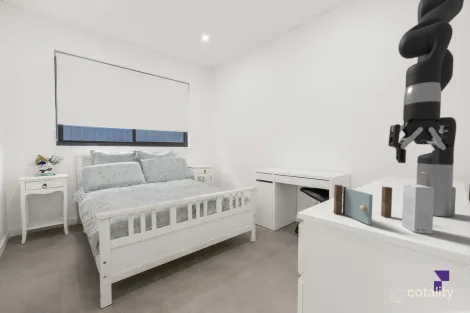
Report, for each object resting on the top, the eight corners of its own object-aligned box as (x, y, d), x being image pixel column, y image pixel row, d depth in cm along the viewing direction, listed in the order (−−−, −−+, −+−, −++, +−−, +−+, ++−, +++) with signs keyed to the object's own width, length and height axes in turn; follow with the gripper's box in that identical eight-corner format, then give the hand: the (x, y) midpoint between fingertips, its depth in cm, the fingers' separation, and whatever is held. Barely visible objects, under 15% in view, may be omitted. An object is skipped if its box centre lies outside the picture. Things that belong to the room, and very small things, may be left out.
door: (371, 224, 60) (372, 194, 60) (365, 224, 60) (366, 194, 60) (347, 213, 70) (348, 188, 70) (342, 214, 70) (343, 188, 70)
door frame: (387, 215, 70) (388, 186, 70) (391, 217, 68) (392, 187, 68) (333, 212, 73) (334, 184, 73) (335, 214, 71) (336, 185, 71)
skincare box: (433, 234, 55) (435, 187, 54) (414, 232, 55) (415, 187, 55) (418, 226, 60) (419, 184, 60) (400, 225, 61) (402, 183, 61)
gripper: (401, 100, 54) (398, 163, 55) (464, 99, 52) (461, 165, 53) (384, 106, 62) (382, 162, 62) (439, 106, 60) (437, 163, 60)
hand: (419, 163), depth 57 cm, fingers open, 8 cm apart
